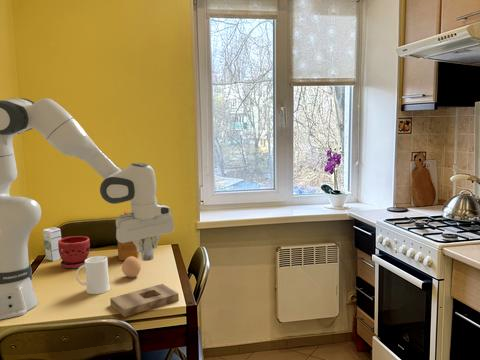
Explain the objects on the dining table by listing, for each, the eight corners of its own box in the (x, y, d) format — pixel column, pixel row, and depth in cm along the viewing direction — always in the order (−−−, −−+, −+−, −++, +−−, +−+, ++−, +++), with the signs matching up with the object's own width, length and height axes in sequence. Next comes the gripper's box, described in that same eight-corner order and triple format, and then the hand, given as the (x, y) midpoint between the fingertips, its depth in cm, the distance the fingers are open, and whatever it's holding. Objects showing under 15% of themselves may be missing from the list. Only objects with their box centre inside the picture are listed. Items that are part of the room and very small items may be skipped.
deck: (124, 317, 140) (124, 309, 140) (110, 305, 150) (110, 298, 149) (178, 300, 152) (178, 293, 152) (162, 290, 162) (162, 283, 161)
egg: (136, 280, 172) (135, 259, 171) (119, 279, 174) (118, 259, 173) (144, 274, 179) (143, 254, 178) (127, 273, 181) (126, 253, 180)
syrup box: (63, 258, 204) (61, 228, 202) (52, 261, 199) (49, 230, 197) (56, 256, 207) (53, 226, 205) (45, 259, 202) (42, 229, 200)
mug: (77, 297, 157) (75, 265, 155) (76, 289, 165) (74, 259, 163) (111, 291, 162) (109, 260, 160) (108, 284, 169) (106, 254, 168)
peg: (144, 261, 147) (143, 238, 146) (139, 258, 151) (138, 236, 149) (155, 258, 150) (154, 236, 148) (150, 256, 153) (149, 234, 152)
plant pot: (73, 272, 184) (71, 244, 183) (53, 267, 191) (51, 241, 189) (97, 262, 196) (95, 237, 194) (77, 258, 202) (75, 233, 200)
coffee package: (140, 252, 210) (138, 207, 207) (139, 260, 198) (136, 212, 195) (119, 253, 208) (116, 208, 205) (116, 261, 196) (113, 214, 193)
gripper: (118, 217, 139) (122, 258, 141) (175, 207, 151) (177, 245, 153) (111, 214, 144) (114, 254, 146) (166, 204, 156) (168, 241, 158)
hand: (147, 249), depth 150 cm, fingers closed on peg, 4 cm apart
